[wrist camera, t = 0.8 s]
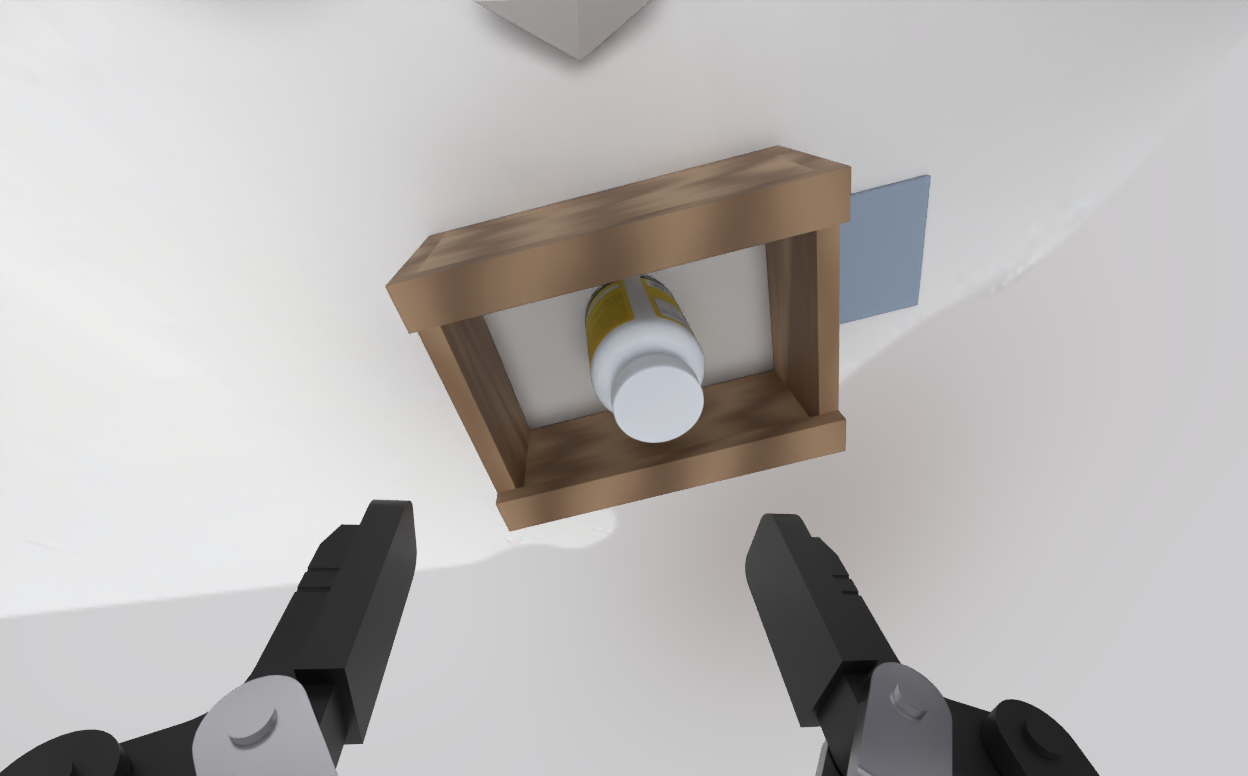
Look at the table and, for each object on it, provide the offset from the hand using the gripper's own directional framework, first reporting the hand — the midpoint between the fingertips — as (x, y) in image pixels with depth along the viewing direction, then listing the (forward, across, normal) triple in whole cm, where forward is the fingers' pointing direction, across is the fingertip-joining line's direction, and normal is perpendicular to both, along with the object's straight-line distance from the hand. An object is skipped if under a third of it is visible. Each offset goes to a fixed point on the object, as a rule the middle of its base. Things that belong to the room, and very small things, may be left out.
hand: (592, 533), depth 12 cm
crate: (+24, -4, +4) cm, 25 cm away
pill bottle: (+24, -4, +4) cm, 25 cm away
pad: (+24, -19, -1) cm, 31 cm away
